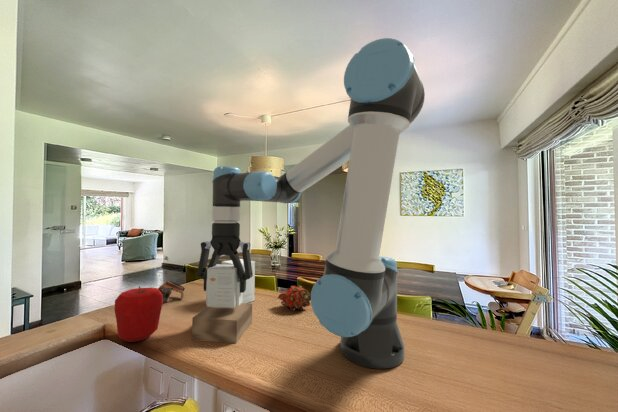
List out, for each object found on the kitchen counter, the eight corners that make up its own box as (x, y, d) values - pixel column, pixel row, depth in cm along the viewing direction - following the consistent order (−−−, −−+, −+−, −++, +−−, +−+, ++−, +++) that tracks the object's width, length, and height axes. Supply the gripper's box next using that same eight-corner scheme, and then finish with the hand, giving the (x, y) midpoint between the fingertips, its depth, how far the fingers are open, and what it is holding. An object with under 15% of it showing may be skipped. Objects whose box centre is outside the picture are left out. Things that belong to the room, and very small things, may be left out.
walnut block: (251, 323, 77) (252, 303, 77) (236, 344, 65) (236, 320, 65) (213, 321, 78) (214, 301, 78) (191, 341, 66) (192, 317, 66)
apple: (118, 353, 59) (120, 294, 60) (109, 338, 66) (111, 285, 67) (167, 337, 67) (169, 285, 68) (154, 325, 74) (156, 278, 74)
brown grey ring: (154, 299, 97) (167, 279, 100) (177, 309, 98) (189, 289, 101) (144, 301, 86) (158, 278, 89) (170, 313, 87) (184, 289, 90)
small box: (241, 301, 74) (242, 264, 74) (234, 308, 69) (235, 268, 69) (215, 299, 75) (216, 263, 75) (205, 306, 69) (206, 267, 70)
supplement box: (255, 301, 96) (256, 260, 96) (235, 307, 89) (236, 264, 89) (240, 295, 101) (241, 258, 102) (220, 301, 94) (221, 261, 95)
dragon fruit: (313, 316, 86) (280, 317, 89) (315, 295, 93) (284, 296, 96) (306, 300, 82) (272, 302, 85) (310, 279, 89) (277, 281, 92)
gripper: (265, 222, 75) (264, 300, 74) (198, 221, 77) (196, 296, 77) (257, 223, 68) (256, 310, 67) (183, 221, 70) (181, 306, 69)
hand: (224, 303), depth 72 cm, fingers closed on small box, 8 cm apart
